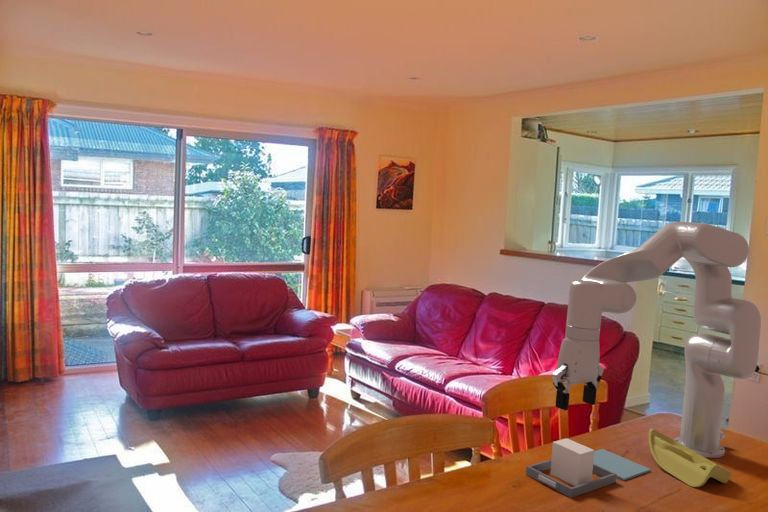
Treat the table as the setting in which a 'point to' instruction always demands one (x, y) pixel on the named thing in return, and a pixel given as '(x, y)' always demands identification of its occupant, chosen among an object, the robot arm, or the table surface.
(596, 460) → the mat
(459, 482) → the table surface
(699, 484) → the plastic component
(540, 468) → the grey rectangular frame
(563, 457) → the block
